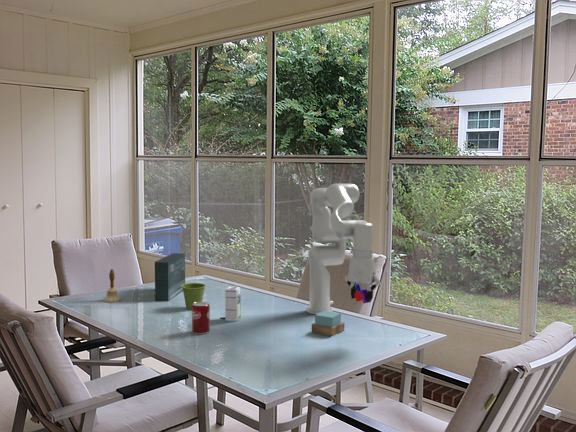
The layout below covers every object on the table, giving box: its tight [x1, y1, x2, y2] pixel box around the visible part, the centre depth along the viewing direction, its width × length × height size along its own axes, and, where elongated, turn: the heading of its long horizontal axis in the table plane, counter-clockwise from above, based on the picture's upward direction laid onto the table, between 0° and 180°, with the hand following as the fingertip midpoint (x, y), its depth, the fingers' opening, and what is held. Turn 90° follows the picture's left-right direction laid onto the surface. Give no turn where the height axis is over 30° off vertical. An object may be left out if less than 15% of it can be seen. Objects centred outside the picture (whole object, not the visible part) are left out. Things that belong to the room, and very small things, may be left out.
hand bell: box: [103, 269, 122, 303], centre depth 297 cm, size 8×8×16 cm
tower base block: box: [311, 321, 345, 337], centre depth 247 cm, size 10×10×4 cm
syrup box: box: [224, 286, 242, 322], centre depth 264 cm, size 6×6×14 cm
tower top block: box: [314, 311, 342, 327], centre depth 246 cm, size 8×8×4 cm
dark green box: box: [154, 252, 186, 302], centre depth 311 cm, size 29×7×20 cm, turn 173°
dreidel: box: [354, 283, 372, 305], centre depth 232 cm, size 4×4×8 cm
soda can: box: [191, 301, 211, 335], centre depth 244 cm, size 7×7×12 cm
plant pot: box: [181, 282, 207, 311], centre depth 283 cm, size 12×12×11 cm
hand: (361, 298), depth 232 cm, fingers closed on dreidel, 6 cm apart
